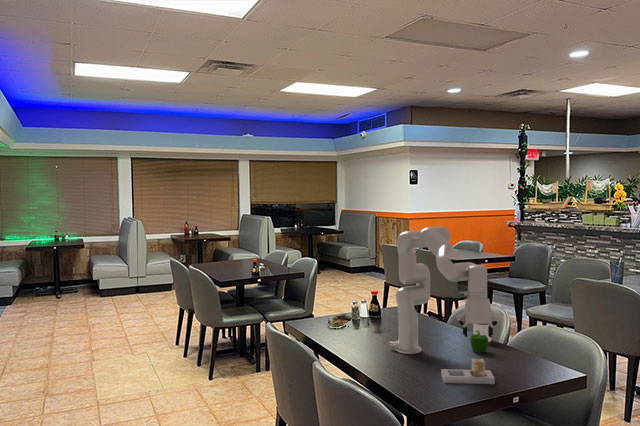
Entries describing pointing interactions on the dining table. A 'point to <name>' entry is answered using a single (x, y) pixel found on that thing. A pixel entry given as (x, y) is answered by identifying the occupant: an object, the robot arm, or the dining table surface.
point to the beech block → (478, 367)
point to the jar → (481, 330)
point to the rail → (466, 377)
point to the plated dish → (339, 320)
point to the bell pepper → (479, 342)
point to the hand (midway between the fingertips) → (477, 336)
